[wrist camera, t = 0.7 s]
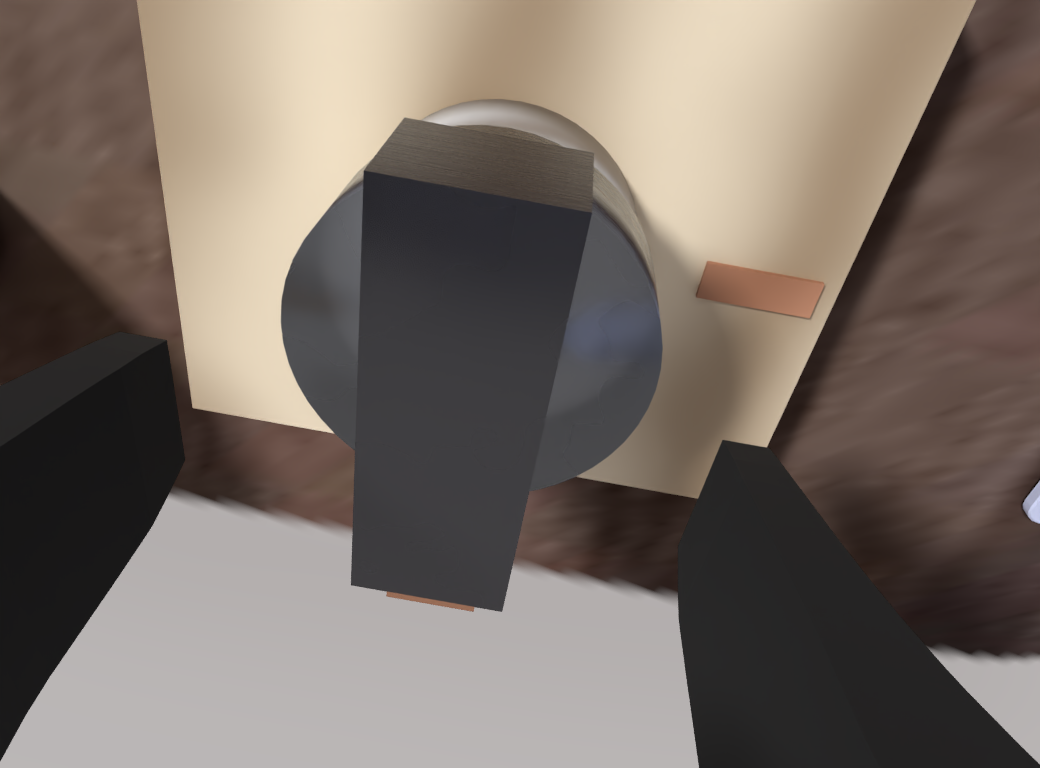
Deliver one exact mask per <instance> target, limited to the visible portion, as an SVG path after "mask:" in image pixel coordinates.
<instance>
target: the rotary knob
mask: <svg viewBox="0 0 1040 768" xmlns="http://www.w3.org/2000/svg"><path fill="white" fill-rule="evenodd" d="M281 329H282V337H283V344H284V348H285V352H286V355H287V359H288V363H289V365H290V368H291V370H292V372H293V375H294V377H295V380H296V382H297V384H298V386H299V387H300V389H301V391H302V393H303V394H304V396H305V398H306V399H307V401H308V403H309V404H310V405H311V407H312V408H313V409H314V411H315V412H316V413H317V415H318V416H319V417H320V418H321V420H322V421H323V422H324V423H325V424H326V425H327V426H328V427H329V428H330V429H331V430H332V431H333V432H334V433H335V434H336V435H337V436H338V437H339V438H340V439H342V440H343V441H344V442H345V443H346V444H347V445H349V446H350V447H351V448H352V449H354V450H355V471H354V504H353V537H352V571H351V585H354V586H359V587H365V588H370V589H376V590H382V591H387V596H388V597H394V598H399V599H405V600H410V601H416V602H422V603H427V604H433V605H438V606H445V607H450V608H455V609H461V610H467V611H472V612H473V611H474V607H478V608H484V609H489V610H495V611H501V612H502V610H503V605H504V601H505V596H506V592H507V587H508V583H509V579H510V574H511V570H512V565H513V561H514V557H515V552H516V548H517V543H518V539H519V534H520V530H521V526H522V521H523V517H524V512H525V508H526V503H527V499H528V495H529V491H534V490H538V489H542V488H545V487H549V486H553V485H556V484H559V483H561V482H564V481H566V480H569V479H571V478H574V477H576V476H578V475H580V474H582V473H583V472H585V471H587V470H589V469H591V468H593V467H594V466H596V465H597V464H599V463H600V462H601V461H603V460H604V459H606V458H607V457H608V456H610V455H611V454H612V453H613V452H614V451H615V450H616V449H617V448H619V447H620V446H621V445H622V444H623V443H624V442H625V441H626V440H627V438H628V437H629V436H630V435H631V434H632V432H633V431H634V430H635V429H636V428H637V426H638V425H639V423H640V421H641V420H642V418H643V416H644V415H645V413H646V411H647V410H648V408H649V405H650V403H651V401H652V398H653V396H654V394H655V391H656V388H657V384H658V380H659V376H660V372H661V363H662V351H663V345H662V332H661V321H660V313H659V305H658V297H657V288H656V280H655V272H654V265H653V260H652V256H651V252H650V247H649V244H648V241H647V239H646V236H645V234H644V231H643V229H642V226H641V224H640V222H639V220H638V219H637V217H636V215H635V213H634V212H633V210H632V208H631V206H630V205H629V203H628V202H627V201H626V200H625V198H624V197H623V196H622V194H621V193H620V192H619V190H618V189H617V188H616V187H615V186H614V185H613V184H612V183H611V182H610V181H609V180H608V179H607V178H606V177H605V176H604V175H603V174H602V173H601V172H600V171H599V170H598V169H597V168H595V167H594V153H593V152H588V151H582V150H577V149H572V148H566V147H563V146H561V145H560V144H558V143H555V142H553V141H550V140H548V139H545V138H543V137H540V136H538V135H535V134H532V133H528V132H524V131H520V130H516V129H513V128H507V127H499V126H490V125H458V126H448V125H443V124H437V123H432V122H427V121H421V120H416V119H411V118H405V117H404V119H403V120H402V121H401V122H400V124H399V125H398V126H397V128H396V129H395V130H394V132H393V133H392V134H391V135H390V137H389V138H388V139H387V141H386V142H385V143H384V145H383V146H382V147H381V148H380V150H379V151H378V152H377V154H376V155H375V156H374V158H373V159H372V160H370V161H369V162H368V163H367V164H366V165H365V166H364V167H363V168H362V169H361V170H359V171H358V172H357V173H356V175H355V176H354V177H353V178H352V179H351V181H350V182H349V183H348V184H347V186H346V187H345V188H344V189H343V191H342V192H341V193H340V194H339V196H338V197H337V198H336V200H335V201H334V202H333V203H332V205H331V206H330V207H329V208H328V210H327V211H326V212H325V214H324V215H323V216H322V217H321V219H320V220H319V221H318V222H317V224H316V225H315V226H314V227H313V229H312V230H311V231H310V233H309V234H308V235H307V236H306V238H305V239H304V241H303V242H302V244H301V246H300V248H299V249H298V251H297V253H296V255H295V256H294V258H293V260H292V263H291V266H290V269H289V271H288V274H287V277H286V279H285V284H284V290H283V295H282V300H281Z"/></svg>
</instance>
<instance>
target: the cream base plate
mask: <svg viewBox="0 0 1040 768" xmlns="http://www.w3.org/2000/svg"><path fill="white" fill-rule="evenodd" d="M975 1H976V0H137V5H138V12H139V19H140V27H141V34H142V41H143V48H144V56H145V63H146V70H147V78H148V85H149V92H150V100H151V107H152V114H153V122H154V129H155V136H156V143H157V151H158V158H159V165H160V173H161V180H162V187H163V195H164V202H165V209H166V217H167V224H168V231H169V238H170V246H171V253H172V260H173V268H174V275H175V282H176V290H177V297H178V304H179V312H180V319H181V326H182V333H183V341H184V348H185V355H186V363H187V370H188V377H189V385H190V392H191V399H192V407H193V408H196V409H202V410H207V411H213V412H218V413H224V414H229V415H235V416H241V417H246V418H252V419H257V420H263V421H268V422H274V423H279V424H285V425H291V426H296V427H302V428H307V429H313V430H318V431H324V432H330V433H334V432H333V431H332V430H331V429H330V428H329V427H328V426H327V425H326V424H325V423H324V422H323V421H322V420H321V418H320V417H319V416H318V415H317V413H316V412H315V411H314V409H313V408H312V407H311V405H310V404H309V403H308V401H307V399H306V398H305V396H304V394H303V393H302V391H301V389H300V387H299V386H298V384H297V382H296V380H295V377H294V375H293V372H292V370H291V368H290V365H289V363H288V359H287V355H286V352H285V348H284V344H283V337H282V329H281V300H282V295H283V290H284V284H285V279H286V277H287V274H288V271H289V269H290V266H291V263H292V260H293V258H294V256H295V255H296V253H297V251H298V249H299V248H300V246H301V244H302V242H303V241H304V239H305V238H306V236H307V235H308V234H309V233H310V231H311V230H312V229H313V227H314V226H315V225H316V224H317V222H318V221H319V220H320V219H321V217H322V216H323V215H324V214H325V212H326V211H327V210H328V208H329V207H330V206H331V205H332V203H333V202H334V201H335V200H336V198H337V197H338V196H339V194H340V193H341V192H342V191H343V189H344V188H345V187H346V186H347V184H348V183H349V182H350V181H351V179H352V178H353V177H354V176H355V175H356V173H357V172H358V171H359V170H361V169H362V168H363V167H364V166H365V165H366V164H367V163H368V162H369V161H370V160H372V159H373V158H374V156H375V155H376V154H377V152H378V151H379V150H380V148H381V147H382V146H383V145H384V143H385V142H386V141H387V139H388V138H389V137H390V135H391V134H392V133H393V132H394V130H395V129H396V128H397V126H398V125H399V124H400V122H401V121H402V120H403V119H404V117H405V118H411V119H416V120H421V121H427V122H432V123H437V124H443V125H448V126H458V125H490V126H499V127H507V128H513V129H516V130H520V131H524V132H528V133H532V134H535V135H538V136H540V137H543V138H545V139H548V140H550V141H553V142H555V143H558V144H560V145H561V146H563V147H566V148H572V149H577V150H582V151H588V152H593V153H594V167H595V168H597V169H598V170H599V171H600V172H601V173H602V174H603V175H604V176H605V177H606V178H607V179H608V180H609V181H610V182H611V183H612V184H613V185H614V186H615V187H616V188H617V189H618V190H619V192H620V193H621V194H622V196H623V197H624V198H625V200H626V201H627V202H628V203H629V205H630V206H631V208H632V210H633V212H634V213H635V215H636V217H637V219H638V220H639V222H640V224H641V226H642V229H643V231H644V234H645V236H646V239H647V241H648V244H649V247H650V252H651V256H652V260H653V265H654V272H655V280H656V288H657V297H658V305H659V313H660V321H661V332H662V345H663V351H662V363H661V372H660V376H659V380H658V384H657V388H656V391H655V394H654V396H653V398H652V401H651V403H650V405H649V408H648V410H647V411H646V413H645V415H644V416H643V418H642V420H641V421H640V423H639V425H638V426H637V428H636V429H635V430H634V431H633V432H632V434H631V435H630V436H629V437H628V438H627V440H626V441H625V442H624V443H623V444H622V445H621V446H620V447H619V448H617V449H616V450H615V451H614V452H613V453H612V454H611V455H610V456H608V457H607V458H606V459H604V460H603V461H601V462H600V463H599V464H597V465H596V466H594V467H593V468H591V469H589V470H587V471H585V472H583V473H582V474H580V475H578V476H576V477H580V478H586V479H591V480H597V481H602V482H608V483H613V484H619V485H625V486H630V487H636V488H641V489H647V490H652V491H658V492H664V493H669V494H675V495H680V496H686V497H691V498H697V499H698V497H699V495H700V492H701V490H702V488H703V485H704V483H705V481H706V478H707V476H708V473H709V471H710V469H711V466H712V464H713V461H714V459H715V457H716V454H717V452H718V449H719V447H720V445H721V442H722V440H727V441H733V442H738V443H744V444H750V445H755V446H761V447H766V448H767V446H768V444H769V442H770V439H771V437H772V435H773V433H774V431H775V429H776V427H777V424H778V422H779V420H780V418H781V416H782V414H783V412H784V409H785V407H786V405H787V403H788V401H789V399H790V397H791V395H792V392H793V390H794V388H795V386H796V384H797V382H798V380H799V377H800V375H801V373H802V371H803V369H804V367H805V365H806V362H807V360H808V358H809V356H810V354H811V352H812V350H813V348H814V345H815V343H816V341H817V339H818V337H819V335H820V333H821V330H822V328H823V326H824V324H825V322H826V320H827V318H828V315H829V313H830V311H831V309H832V307H833V305H834V303H835V301H836V298H837V296H838V294H839V292H840V290H841V288H842V286H843V283H844V281H845V279H846V277H847V275H848V273H849V271H850V268H851V266H852V264H853V262H854V260H855V258H856V256H857V254H858V251H859V249H860V247H861V245H862V243H863V241H864V239H865V236H866V234H867V232H868V230H869V228H870V226H871V224H872V221H873V219H874V217H875V215H876V213H877V211H878V209H879V207H880V204H881V202H882V200H883V198H884V196H885V194H886V192H887V189H888V187H889V185H890V183H891V181H892V179H893V177H894V174H895V172H896V170H897V168H898V166H899V164H900V162H901V159H902V157H903V155H904V153H905V151H906V149H907V147H908V145H909V142H910V140H911V138H912V136H913V134H914V132H915V130H916V127H917V125H918V123H919V121H920V119H921V117H922V115H923V112H924V110H925V108H926V106H927V104H928V102H929V100H930V98H931V95H932V93H933V91H934V89H935V87H936V85H937V83H938V80H939V78H940V76H941V74H942V72H943V70H944V68H945V65H946V63H947V61H948V59H949V57H950V55H951V53H952V51H953V48H954V46H955V44H956V42H957V40H958V38H959V36H960V33H961V31H962V29H963V27H964V25H965V23H966V21H967V18H968V16H969V14H970V12H971V10H972V8H973V6H974V4H975Z"/></svg>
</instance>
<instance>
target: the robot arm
mask: <svg viewBox="0 0 1040 768" xmlns="http://www.w3.org/2000/svg"><path fill="white" fill-rule="evenodd" d="M184 461H185V456H184V449H183V443H182V436H181V430H180V423H179V417H178V410H177V404H176V397H175V391H174V384H173V378H172V371H171V364H170V358H169V351H168V345H167V340H162V339H157V338H151V337H146V336H140V335H134V334H129V333H123V332H118V333H115V334H113V335H110V336H108V337H105V338H103V339H100V340H98V341H95V342H93V343H91V344H89V345H86V346H84V347H82V348H80V349H78V350H75V351H73V352H71V353H69V354H67V355H65V356H62V357H60V358H58V359H56V360H54V361H52V362H50V363H48V364H45V365H43V366H41V367H39V368H37V369H35V370H33V371H31V372H29V373H27V374H24V375H22V376H20V377H18V378H16V379H14V380H12V381H10V382H7V383H5V384H3V385H1V386H0V761H1V759H2V757H3V755H4V754H5V752H6V750H7V748H8V746H9V745H10V742H11V741H12V739H13V737H14V735H15V734H16V732H17V730H18V728H19V726H20V724H21V722H22V721H23V719H24V717H25V715H26V714H27V712H28V710H29V709H30V707H31V706H32V704H33V702H34V701H35V699H36V698H37V696H38V695H39V693H40V691H41V690H42V688H43V687H44V685H45V683H46V682H47V680H48V679H49V677H50V675H51V674H52V673H53V671H54V670H55V668H56V667H57V665H58V664H59V663H60V661H61V660H62V658H63V656H64V655H65V654H66V652H67V651H68V649H69V648H70V647H71V645H72V644H73V642H74V641H75V639H76V638H77V636H78V635H79V633H80V632H81V630H82V629H83V628H84V626H85V625H86V623H87V622H88V620H89V619H90V617H91V616H92V614H93V613H94V611H95V610H96V609H97V607H98V606H99V604H100V603H101V601H102V600H103V598H104V597H105V595H106V594H107V592H108V591H109V590H110V588H111V587H112V585H113V584H114V582H115V581H116V579H117V578H118V576H119V575H120V574H121V572H122V571H123V569H124V568H125V566H126V565H127V563H128V562H129V560H130V559H131V557H132V556H133V554H134V553H135V551H136V550H137V548H138V547H139V545H140V544H141V542H142V541H143V539H144V538H145V536H146V535H147V533H148V532H149V530H150V529H151V527H152V525H153V524H154V521H155V519H156V517H157V516H158V514H159V512H160V510H161V508H162V506H163V504H164V502H165V500H166V498H167V496H168V494H169V492H170V490H171V488H172V486H173V484H174V482H175V480H176V478H177V476H178V473H179V471H180V469H181V467H182V465H183V463H184ZM1023 509H1024V511H1025V513H1026V514H1027V516H1028V517H1029V518H1030V519H1031V520H1032V521H1034V522H1036V523H1040V481H1039V482H1038V484H1037V485H1036V486H1035V487H1034V489H1033V490H1032V491H1031V493H1030V494H1029V495H1028V496H1027V498H1026V499H1025V501H1024V503H1023ZM678 610H679V624H680V632H681V640H682V648H683V655H684V662H685V670H686V678H687V685H688V692H689V698H690V706H691V713H692V720H693V727H694V734H695V741H696V749H697V755H698V763H699V768H1040V764H1038V762H1037V761H1035V760H1034V759H1033V758H1032V757H1031V756H1030V755H1029V754H1028V753H1027V752H1026V751H1025V750H1024V749H1023V748H1022V747H1021V746H1020V745H1019V744H1018V743H1017V742H1016V741H1015V740H1014V739H1013V738H1012V737H1011V736H1010V735H1009V734H1008V733H1007V732H1006V731H1005V730H1004V729H1003V728H1002V727H1001V726H1000V725H999V724H998V722H997V721H995V720H994V718H993V717H992V716H991V715H990V714H989V713H988V712H987V711H986V710H985V709H984V708H982V706H981V705H980V704H979V703H978V702H977V701H976V700H975V699H974V698H973V697H972V696H971V695H970V694H969V693H968V692H967V691H966V690H965V689H964V688H963V687H962V686H961V685H960V684H959V682H958V681H957V680H956V679H955V678H954V677H953V676H952V675H951V674H950V673H949V671H948V670H946V668H945V667H944V666H943V665H942V664H941V663H940V662H939V660H938V659H937V658H936V657H935V656H934V655H933V654H932V652H931V651H930V650H929V649H928V648H927V647H926V646H925V644H924V643H923V642H922V641H921V640H920V639H919V637H918V636H917V635H916V634H915V633H914V632H913V631H912V629H911V628H910V627H909V626H908V625H907V624H906V623H905V621H904V620H903V619H902V618H901V617H900V616H899V615H898V613H897V612H896V611H895V610H894V608H893V607H892V606H891V605H890V604H889V602H888V601H887V600H886V599H885V598H884V596H883V595H882V594H881V593H880V592H879V590H878V589H877V588H876V587H875V585H874V584H873V583H872V582H871V580H870V579H869V578H868V577H867V575H866V574H865V573H864V572H863V570H862V569H861V568H860V567H859V565H858V564H857V563H856V562H855V560H854V559H853V558H852V556H851V555H850V554H849V553H848V551H847V550H846V549H845V547H844V546H843V545H842V543H841V542H840V541H839V540H838V538H837V537H836V536H835V534H834V533H833V532H832V530H831V529H830V528H829V526H828V525H827V524H826V522H825V521H824V520H823V518H822V517H821V516H820V514H819V513H818V512H817V510H816V509H815V508H814V506H813V505H812V504H811V502H810V501H809V500H808V498H807V497H806V496H805V494H804V493H803V492H802V490H801V489H800V488H799V486H798V485H797V484H796V482H795V481H794V480H793V478H792V477H791V476H790V474H789V473H788V472H787V470H786V469H785V468H784V466H783V465H782V464H781V462H780V461H779V460H778V458H777V457H776V456H775V455H774V453H773V452H772V451H771V450H770V449H769V448H766V447H761V446H755V445H750V444H744V443H738V442H733V441H727V440H722V442H721V445H720V447H719V449H718V452H717V454H716V457H715V459H714V461H713V464H712V466H711V469H710V471H709V473H708V476H707V478H706V481H705V483H704V485H703V488H702V490H701V492H700V495H699V497H698V500H697V502H696V504H695V507H694V509H693V512H692V514H691V516H690V519H689V521H688V524H687V526H686V528H685V531H684V533H683V536H682V538H681V540H680V543H679V545H678Z"/></svg>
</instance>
